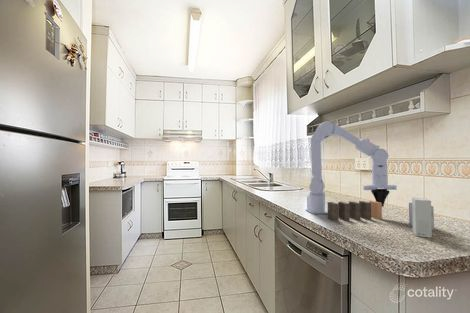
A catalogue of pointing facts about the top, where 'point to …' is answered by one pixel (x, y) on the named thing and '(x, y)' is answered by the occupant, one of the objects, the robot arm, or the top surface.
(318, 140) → the robot arm
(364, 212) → the domino block
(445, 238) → the top surface
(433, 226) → the medicine box
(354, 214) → the dark tile
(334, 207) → the dark tile
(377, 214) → the peach block
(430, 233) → the skincare box
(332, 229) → the top surface
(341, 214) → the dark tile
